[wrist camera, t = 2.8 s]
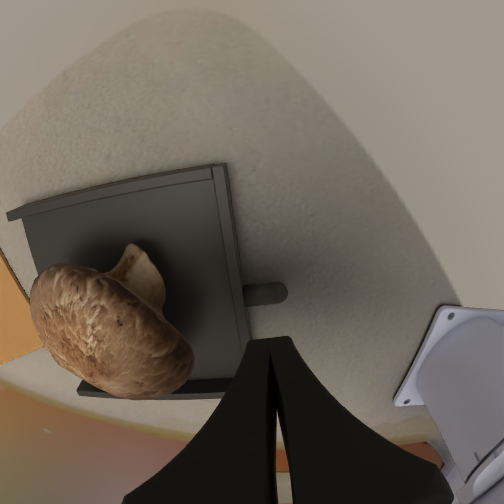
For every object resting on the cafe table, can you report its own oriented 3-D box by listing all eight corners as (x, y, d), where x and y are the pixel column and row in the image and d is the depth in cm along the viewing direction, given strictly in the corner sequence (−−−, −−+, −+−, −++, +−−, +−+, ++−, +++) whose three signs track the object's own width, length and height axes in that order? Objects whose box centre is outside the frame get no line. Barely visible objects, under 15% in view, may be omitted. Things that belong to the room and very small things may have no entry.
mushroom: (142, 187, 10) (45, 356, 7) (252, 308, 15) (211, 433, 12) (53, 223, 14) (-6, 324, 11) (146, 305, 20) (108, 393, 16)
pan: (87, 380, 18) (78, 396, 17) (22, 205, 14) (5, 212, 12) (292, 372, 18) (296, 391, 16) (272, 156, 13) (275, 158, 12)
